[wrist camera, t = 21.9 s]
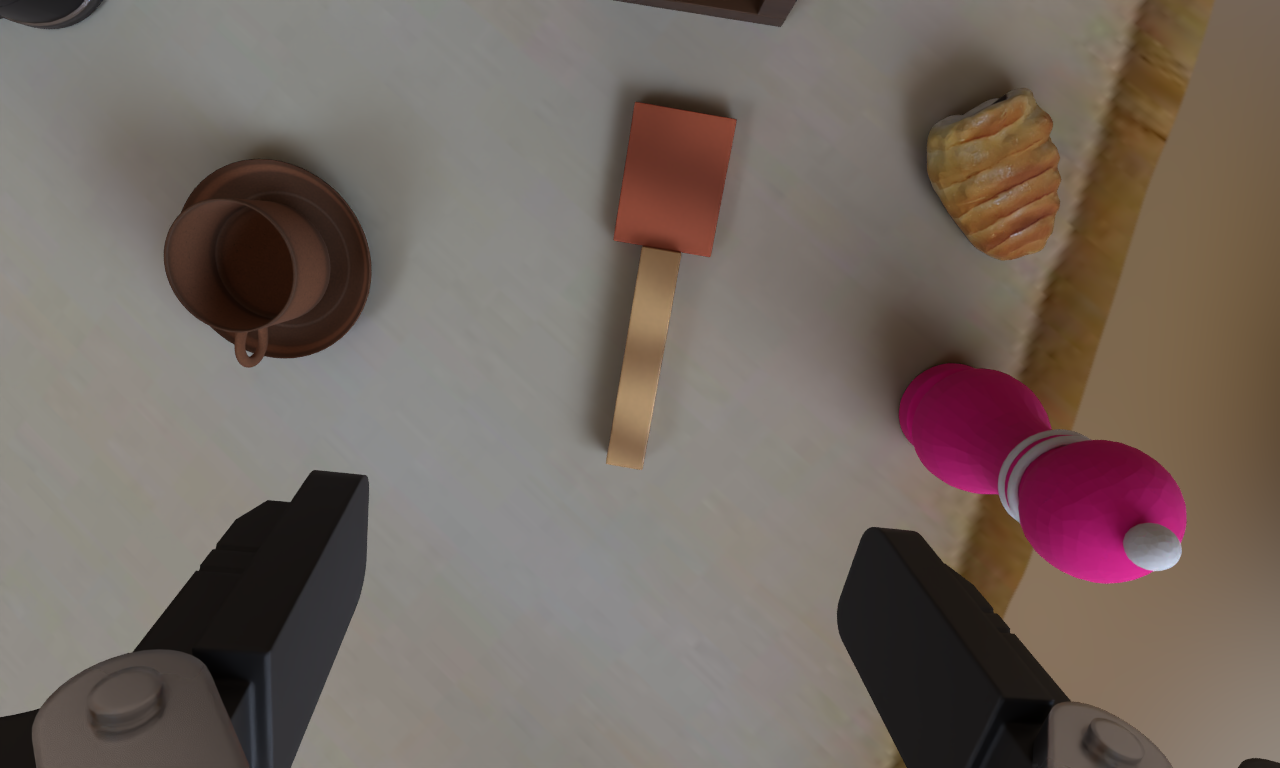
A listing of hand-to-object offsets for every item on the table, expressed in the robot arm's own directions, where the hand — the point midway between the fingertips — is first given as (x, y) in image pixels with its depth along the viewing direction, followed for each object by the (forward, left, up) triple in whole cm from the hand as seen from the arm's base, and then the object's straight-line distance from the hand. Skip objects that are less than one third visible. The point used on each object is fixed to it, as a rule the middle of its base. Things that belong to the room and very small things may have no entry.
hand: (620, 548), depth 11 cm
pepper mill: (+16, -12, -34) cm, 39 cm away
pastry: (+21, +2, -34) cm, 40 cm away
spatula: (0, 0, -33) cm, 33 cm away
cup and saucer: (-22, +9, -34) cm, 41 cm away
